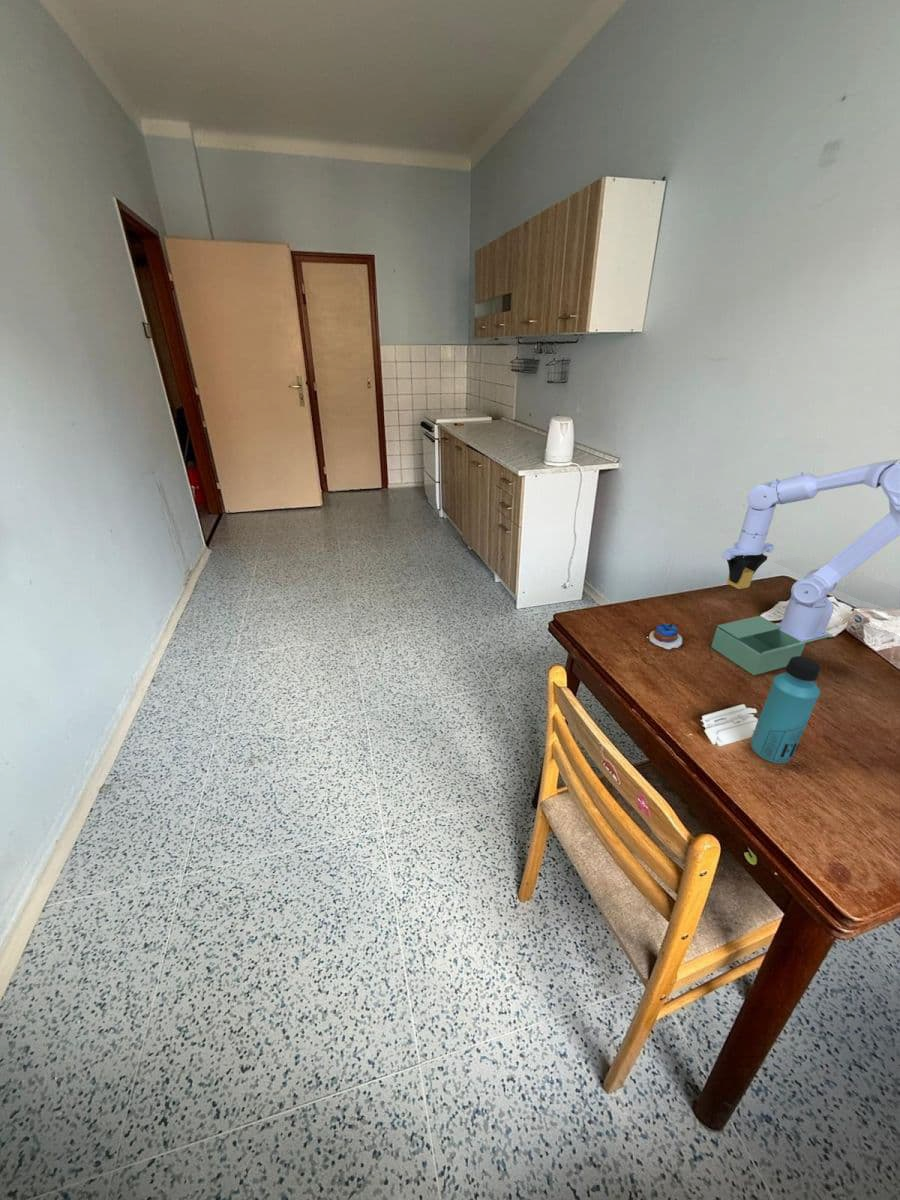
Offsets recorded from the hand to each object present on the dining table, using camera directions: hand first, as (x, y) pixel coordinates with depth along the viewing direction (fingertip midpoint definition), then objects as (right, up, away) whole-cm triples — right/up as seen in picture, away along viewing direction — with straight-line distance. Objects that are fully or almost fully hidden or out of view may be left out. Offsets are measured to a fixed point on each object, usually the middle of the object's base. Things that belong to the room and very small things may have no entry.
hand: (739, 580), depth 124 cm
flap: (-4, -14, -26) cm, 30 cm away
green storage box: (-6, -18, -15) cm, 25 cm away
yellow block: (0, -1, +1) cm, 1 cm away
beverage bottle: (-21, -33, -42) cm, 57 cm away
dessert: (-24, -15, -9) cm, 30 cm away
